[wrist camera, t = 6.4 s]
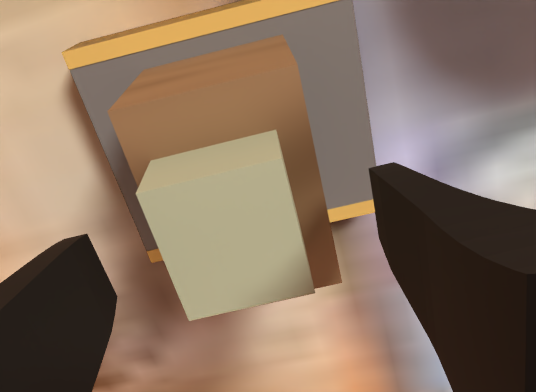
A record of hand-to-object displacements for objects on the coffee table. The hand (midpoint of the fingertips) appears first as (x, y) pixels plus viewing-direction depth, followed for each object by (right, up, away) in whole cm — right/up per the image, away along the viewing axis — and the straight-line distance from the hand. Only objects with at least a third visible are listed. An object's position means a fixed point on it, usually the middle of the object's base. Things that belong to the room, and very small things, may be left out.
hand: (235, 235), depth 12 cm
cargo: (0, +1, +2) cm, 2 cm away
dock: (0, +4, +8) cm, 9 cm away
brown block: (0, +3, +6) cm, 7 cm away
